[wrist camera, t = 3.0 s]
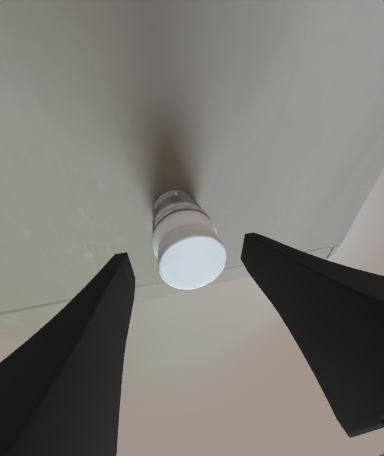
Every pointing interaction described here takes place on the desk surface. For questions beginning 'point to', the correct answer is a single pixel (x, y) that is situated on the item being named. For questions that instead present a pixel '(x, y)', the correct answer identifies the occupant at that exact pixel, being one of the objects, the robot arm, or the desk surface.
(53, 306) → the desk surface
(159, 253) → the pill bottle
